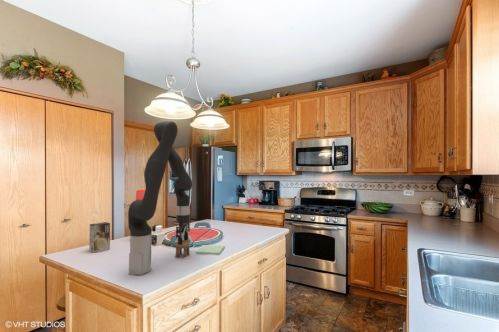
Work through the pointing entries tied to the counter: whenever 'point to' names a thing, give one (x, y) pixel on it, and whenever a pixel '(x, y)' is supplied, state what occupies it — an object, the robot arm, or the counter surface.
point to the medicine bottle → (157, 235)
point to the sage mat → (210, 249)
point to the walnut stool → (184, 245)
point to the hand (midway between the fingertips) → (183, 242)
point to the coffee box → (99, 237)
